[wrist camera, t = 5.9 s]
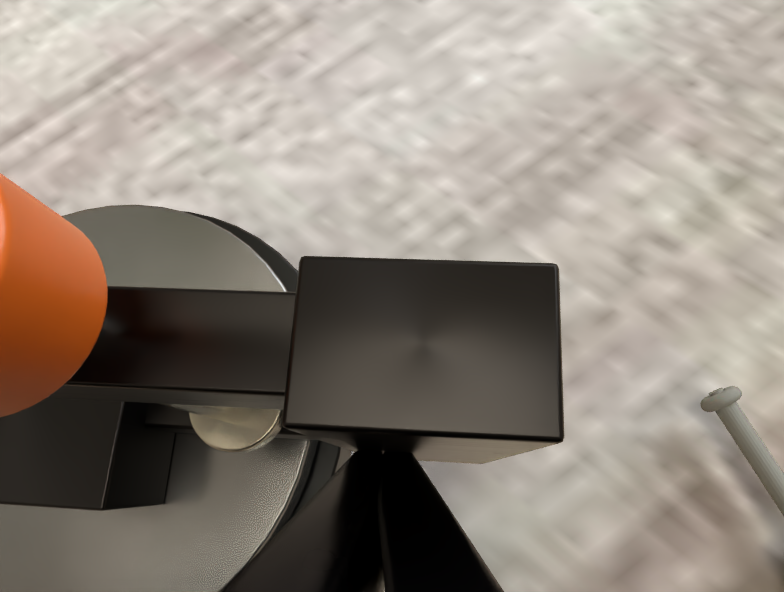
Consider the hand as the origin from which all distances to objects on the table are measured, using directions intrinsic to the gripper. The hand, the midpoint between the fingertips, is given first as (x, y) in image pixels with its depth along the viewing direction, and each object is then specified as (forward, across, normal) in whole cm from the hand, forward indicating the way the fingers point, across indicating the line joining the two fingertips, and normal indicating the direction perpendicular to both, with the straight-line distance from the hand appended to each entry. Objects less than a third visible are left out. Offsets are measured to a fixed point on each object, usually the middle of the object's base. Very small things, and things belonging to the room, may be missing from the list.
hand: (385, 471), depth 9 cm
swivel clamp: (+4, -5, -2) cm, 7 cm away
